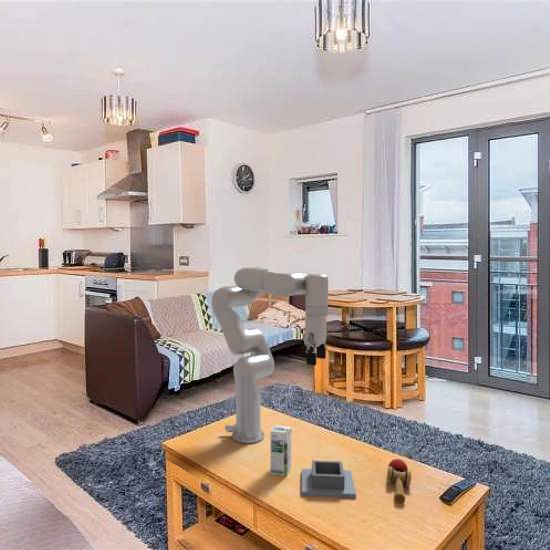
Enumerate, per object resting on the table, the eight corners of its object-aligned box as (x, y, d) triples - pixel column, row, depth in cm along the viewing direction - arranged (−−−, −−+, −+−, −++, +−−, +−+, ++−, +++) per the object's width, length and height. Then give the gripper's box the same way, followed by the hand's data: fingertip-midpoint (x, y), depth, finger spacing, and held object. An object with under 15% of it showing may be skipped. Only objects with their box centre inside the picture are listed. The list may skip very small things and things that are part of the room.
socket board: (301, 495, 134) (301, 478, 133) (301, 472, 148) (302, 456, 147) (355, 497, 133) (356, 480, 132) (351, 474, 147) (351, 458, 146)
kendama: (416, 509, 130) (411, 471, 147) (413, 489, 129) (408, 453, 146) (389, 510, 131) (387, 472, 149) (385, 490, 130) (384, 454, 148)
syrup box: (269, 474, 146) (269, 430, 145) (275, 466, 152) (275, 424, 151) (286, 477, 144) (286, 433, 144) (291, 468, 150) (291, 426, 149)
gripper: (314, 307, 160) (314, 354, 161) (296, 313, 144) (296, 366, 145) (335, 308, 157) (334, 357, 158) (318, 315, 141) (318, 368, 142)
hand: (316, 361), depth 152 cm, fingers open, 9 cm apart
